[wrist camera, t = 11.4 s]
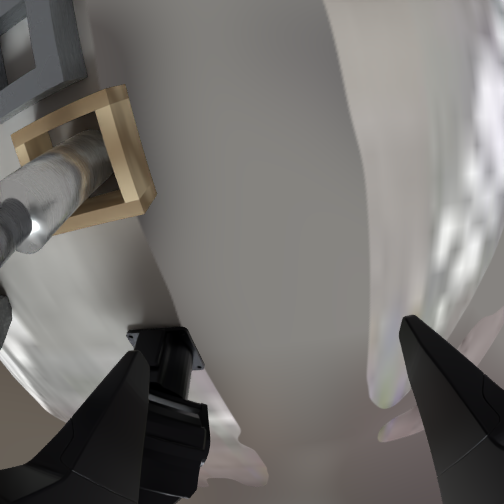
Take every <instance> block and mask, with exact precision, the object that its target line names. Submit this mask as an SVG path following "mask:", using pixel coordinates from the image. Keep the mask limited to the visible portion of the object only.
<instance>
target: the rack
mask: <svg viewBox="0 0 504 504" xmlns="http://www.w3.org/2000/svg"><path fill="white" fill-rule="evenodd" d="M93 111H95V113H96V116H97V120H98V123H99V127H100V130H101V133H102V136H103V140H104V143H105V146H106V149H107V152H108V155H109V158H110V161H111V164H112V167H113V170H114V173H115V176H116V179H117V182H118V185H119V188H120V190H116V191H112V192H108V193H105V194H101V195H98V196H94V197H91V198H87V199H86V200H85V201H84V202H83V203H82V204H81V205H80V206H79V207H78V208H77V209H76V210H75V212H74V213H73V214H72V215H71V216H70V217H69V218H68V219H67V220H66V221H65V222H64V223H63V224H62V225H61V227H60V228H59V229H58V230H57V231H56V232H55V233H54V234H53V236H54V235H58V234H62V233H66V232H70V231H73V230H78V229H82V228H86V227H90V226H94V225H98V224H102V223H107V222H111V221H115V220H120V219H124V218H129V217H133V216H138V215H142V214H145V212H146V211H147V209H148V208H149V206H150V205H151V203H152V201H153V200H154V198H155V197H156V195H157V192H156V190H155V186H154V183H153V180H152V177H151V174H150V170H149V167H148V164H147V161H146V157H145V154H144V151H143V148H142V144H141V140H140V137H139V133H138V130H137V126H136V123H135V120H134V116H133V112H132V109H131V105H130V101H129V97H128V94H127V89H126V86H125V84H123V85H119V86H114V87H110V88H106V89H103V90H101V91H98V92H96V93H93V94H91V95H89V96H86V97H84V98H82V99H79V100H77V101H75V102H73V103H71V104H68V105H66V106H64V107H62V108H60V109H58V110H56V111H54V112H52V113H50V114H48V115H46V116H44V117H42V118H40V119H38V120H36V121H35V122H33V123H31V124H29V125H27V126H25V127H24V128H22V129H20V130H18V131H17V132H15V133H13V134H12V135H11V138H12V141H13V144H14V147H15V150H16V153H17V156H18V159H19V162H20V164H21V167H22V166H24V165H25V164H27V163H28V162H30V161H32V160H33V159H35V158H36V157H38V156H40V155H41V154H43V153H45V152H46V151H48V150H50V149H51V148H53V146H52V143H51V140H50V137H49V134H48V131H49V130H51V129H54V128H56V127H58V126H60V125H62V124H64V123H67V122H69V121H71V120H73V119H76V118H78V117H80V116H83V115H85V114H88V113H90V112H93Z"/></svg>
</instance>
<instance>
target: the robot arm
mask: <svg viewBox="0 0 504 504" xmlns="http://www.w3.org/2000/svg"><path fill="white" fill-rule="evenodd" d="M126 336H127V338H128V340H129V341H130V343H131V344H132V346H133V347H134V350H131V351H128V352H127V353H126V354H125V355H124V356H123V357H122V359H121V360H120V361H119V362H118V363H117V364H116V366H115V367H114V368H113V369H112V370H111V371H110V372H109V374H108V375H107V376H106V377H105V378H104V379H103V381H102V382H101V383H100V384H99V385H98V386H97V388H96V389H95V390H94V391H93V392H92V394H91V395H90V396H89V397H88V398H87V399H86V401H85V402H84V403H83V404H82V405H81V407H80V408H79V409H78V410H77V411H76V413H75V414H74V415H73V416H72V418H70V420H69V421H68V422H67V423H66V424H65V426H64V427H63V428H62V429H61V430H60V431H59V432H58V434H57V435H56V436H55V437H54V438H53V439H52V440H51V441H50V442H49V443H48V444H47V445H46V446H45V447H44V448H43V449H42V450H41V451H40V452H39V453H38V454H37V455H36V456H35V457H34V458H33V459H32V460H30V461H29V462H27V463H26V464H23V465H20V466H16V467H12V468H8V469H3V470H0V504H176V503H177V502H178V501H179V500H180V499H181V498H187V499H188V498H190V497H191V496H192V495H193V494H194V492H195V491H196V490H197V484H198V476H199V470H200V467H201V466H202V465H203V464H204V463H205V461H206V459H207V456H208V453H209V448H210V430H209V419H208V408H207V405H206V404H203V403H201V404H200V403H196V402H193V401H189V400H188V393H189V386H190V379H191V372H192V370H203V369H204V366H205V364H204V362H203V360H202V358H201V356H200V354H199V352H198V350H197V348H196V346H195V344H194V342H193V340H192V338H191V336H190V334H189V331H188V329H187V328H185V327H172V328H159V329H145V330H130V331H128V332H127V335H126ZM399 340H400V344H401V348H402V352H403V356H404V361H405V365H406V369H407V374H408V378H409V381H410V384H411V387H412V390H413V393H414V396H415V399H416V402H417V406H418V409H419V412H420V415H421V419H422V422H423V425H424V429H425V432H426V435H427V439H428V443H429V446H430V450H431V454H432V458H433V462H434V466H435V470H436V474H437V476H438V477H437V479H438V483H439V488H440V492H441V497H442V502H443V504H504V390H503V389H502V388H500V387H499V386H498V385H497V384H496V383H495V382H493V381H492V380H491V379H490V378H489V377H488V376H487V375H485V374H484V373H483V372H482V371H481V370H480V369H479V368H477V367H476V366H475V365H474V364H473V363H472V362H471V361H469V360H468V359H467V358H466V357H465V356H464V355H462V354H461V353H460V352H459V351H458V350H457V349H455V348H454V347H453V346H452V345H451V344H450V343H448V342H447V341H446V340H445V339H444V338H442V337H441V336H440V335H439V334H438V333H436V332H435V331H434V330H433V329H432V328H430V327H429V326H428V325H427V324H426V323H424V322H423V321H422V320H421V319H419V318H418V317H417V316H416V315H409V316H405V317H403V319H402V322H401V327H400V331H399Z"/></svg>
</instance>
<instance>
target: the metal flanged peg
mask: <svg viewBox="0 0 504 504" xmlns="http://www.w3.org/2000/svg"><path fill="white" fill-rule="evenodd" d="M113 171H114V170H113V167H112V164H111V161H110V158H109V155H108V152H107V149H106V146H105V143H104V140H103V136H102V133H101V132H100V131H97V130H85V131H83V132H81V133H79V134H77V135H75V136H73V137H71V138H69V139H67V140H66V141H64V142H62V143H60V144H58V145H57V146H55V147H53V148H51V149H50V150H48V151H46V152H45V153H43V154H41V155H40V156H38V157H36V158H35V159H33V160H32V161H30V162H28V163H27V164H25V165H24V166H22V167H21V168H19V169H18V170H16V171H15V172H13V173H12V174H10V175H9V176H7V177H6V178H4V179H3V180H1V181H0V268H1V267H2V265H3V264H4V263H5V262H6V261H7V260H8V258H9V257H10V256H11V255H12V254H13V253H14V252H15V250H16V251H18V252H21V253H25V254H32V253H35V252H37V251H39V250H40V249H41V248H42V247H43V246H44V245H45V244H46V242H47V241H48V240H49V239H50V238H51V237H52V236H53V234H54V233H55V232H56V231H57V230H58V229H59V228H60V227H61V225H62V224H63V223H64V222H65V221H66V220H67V219H68V218H69V217H70V216H71V215H72V214H73V213H74V212H75V210H76V209H77V208H78V207H79V206H80V205H81V204H82V203H83V202H84V201H85V200H86V199H87V198H88V197H89V196H90V195H91V194H92V193H93V192H94V191H95V190H96V189H97V188H98V187H99V186H100V185H101V184H102V183H104V182H105V181H106V180H107V179H108V178H109V177H110V176H111V174H112V173H113Z"/></svg>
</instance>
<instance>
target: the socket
mask: <svg viewBox="0 0 504 504" xmlns="http://www.w3.org/2000/svg"><path fill="white" fill-rule="evenodd" d="M25 17H27V19H28V26H29V33H30V39H31V44H32V50H33V55H34V60H35V65H36V68H34V69H33V70H31V71H30V72H28V73H26V74H25V75H23V76H22V77H20V78H19V79H17V80H16V81H14V82H13V83H11V84H10V85H8V82H7V78H6V73H5V68H4V63H3V57H2V51H1V45H0V124H2V123H3V122H5V121H6V120H8V119H10V118H11V117H13V116H14V115H16V114H18V113H19V112H21V111H23V110H24V109H26V108H28V107H29V106H31V105H33V104H34V103H36V102H38V101H40V100H42V99H43V98H45V97H47V96H49V95H51V94H53V93H55V92H57V91H59V90H61V89H63V88H65V87H67V86H69V85H71V84H73V83H75V82H77V81H79V80H81V79H84V78H86V77H88V76H87V72H86V68H85V64H84V59H83V55H82V50H81V46H80V41H79V36H78V31H77V26H76V20H75V14H74V8H73V2H72V0H0V36H1V35H2V34H4V33H5V32H6V31H8V30H9V29H10V28H11V27H13V26H14V25H16V24H17V23H18V22H20V21H21V20H23V19H24V18H25Z"/></svg>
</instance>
